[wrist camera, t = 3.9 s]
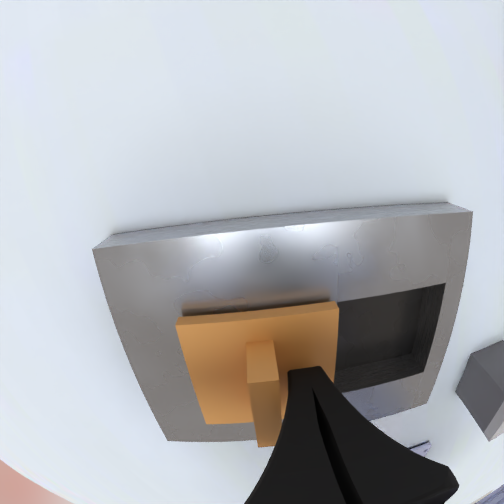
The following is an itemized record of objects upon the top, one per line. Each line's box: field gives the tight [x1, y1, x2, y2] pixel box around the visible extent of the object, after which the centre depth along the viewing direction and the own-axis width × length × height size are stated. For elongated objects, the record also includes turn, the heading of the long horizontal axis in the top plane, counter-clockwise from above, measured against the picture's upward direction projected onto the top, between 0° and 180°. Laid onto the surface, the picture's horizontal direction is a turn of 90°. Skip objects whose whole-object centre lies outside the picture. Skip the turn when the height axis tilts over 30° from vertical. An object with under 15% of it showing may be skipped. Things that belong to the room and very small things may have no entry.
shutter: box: [175, 301, 339, 447], centre depth 11 cm, size 6×6×3 cm
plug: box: [455, 340, 504, 441], centre depth 13 cm, size 4×4×6 cm
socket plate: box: [92, 203, 473, 442], centre depth 13 cm, size 12×16×2 cm
